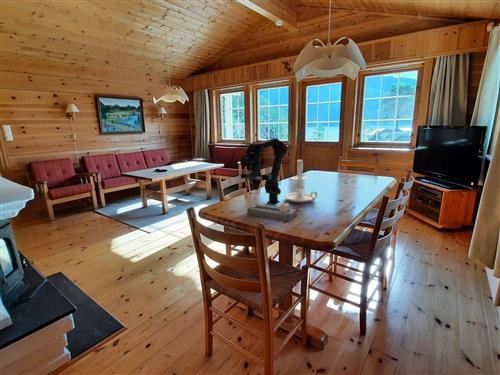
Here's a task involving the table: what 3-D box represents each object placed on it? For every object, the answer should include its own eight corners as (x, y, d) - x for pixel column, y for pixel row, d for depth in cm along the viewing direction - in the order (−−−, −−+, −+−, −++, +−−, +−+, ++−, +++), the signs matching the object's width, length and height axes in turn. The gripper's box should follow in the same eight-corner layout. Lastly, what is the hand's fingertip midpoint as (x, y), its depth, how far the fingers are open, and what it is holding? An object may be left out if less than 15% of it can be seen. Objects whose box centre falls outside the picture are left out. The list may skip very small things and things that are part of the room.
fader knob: (282, 211, 153) (282, 202, 152) (289, 212, 151) (289, 203, 149) (279, 213, 149) (279, 204, 148) (286, 214, 147) (286, 205, 146)
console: (257, 208, 166) (257, 203, 165) (297, 214, 153) (297, 208, 152) (247, 214, 156) (247, 208, 156) (288, 221, 143) (288, 215, 142)
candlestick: (306, 209, 162) (307, 163, 156) (277, 200, 181) (277, 159, 175) (327, 202, 175) (328, 159, 168) (298, 195, 194) (298, 156, 187)
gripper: (235, 166, 157) (236, 191, 161) (263, 167, 148) (264, 194, 152) (244, 163, 167) (245, 187, 170) (272, 164, 158) (272, 190, 162)
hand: (256, 190), depth 163 cm, fingers closed
